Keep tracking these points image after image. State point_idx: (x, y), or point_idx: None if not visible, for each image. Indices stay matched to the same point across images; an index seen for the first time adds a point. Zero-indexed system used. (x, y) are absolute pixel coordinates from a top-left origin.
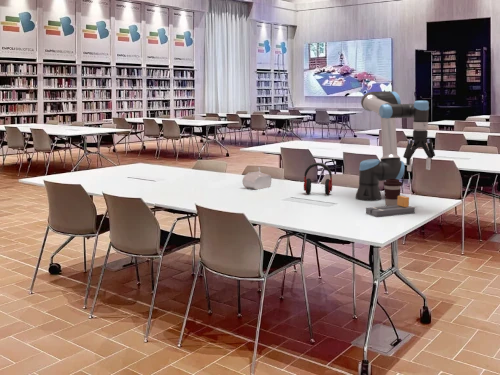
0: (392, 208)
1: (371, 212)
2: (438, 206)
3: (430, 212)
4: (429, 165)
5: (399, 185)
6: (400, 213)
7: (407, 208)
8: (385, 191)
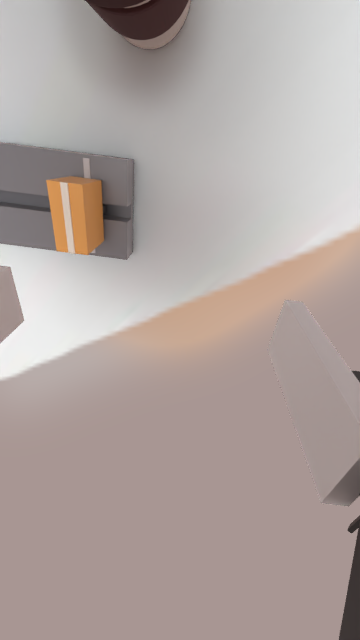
0: (18, 219)
1: None
2: (347, 194)
3: (199, 274)
4: (284, 388)
5: (128, 4)
6: None
7: None
8: None
